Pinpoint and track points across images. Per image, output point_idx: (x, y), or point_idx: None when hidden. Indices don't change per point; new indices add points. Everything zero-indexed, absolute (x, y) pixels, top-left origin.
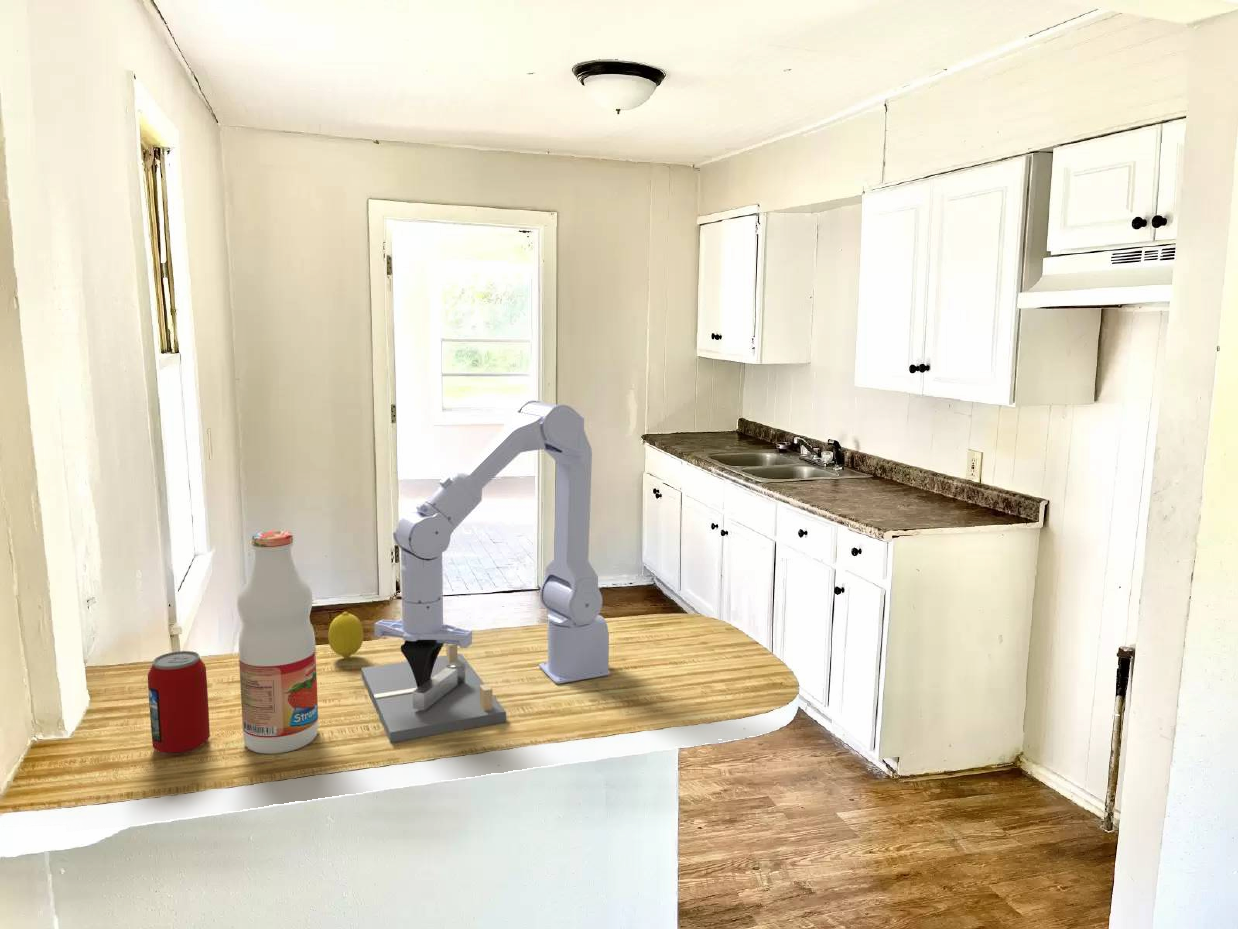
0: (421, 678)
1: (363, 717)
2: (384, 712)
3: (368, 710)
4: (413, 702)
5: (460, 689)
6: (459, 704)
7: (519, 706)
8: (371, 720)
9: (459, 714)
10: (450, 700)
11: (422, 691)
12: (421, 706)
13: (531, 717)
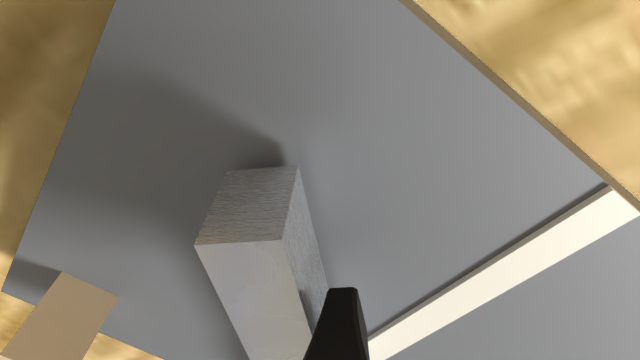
0: (308, 358)
1: (609, 46)
2: (452, 75)
3: (617, 125)
4: (288, 188)
5: None
6: (184, 279)
7: (102, 336)
8: (537, 38)
9: (99, 217)
10: None
11: (224, 260)
12: (239, 183)
13: (9, 302)
